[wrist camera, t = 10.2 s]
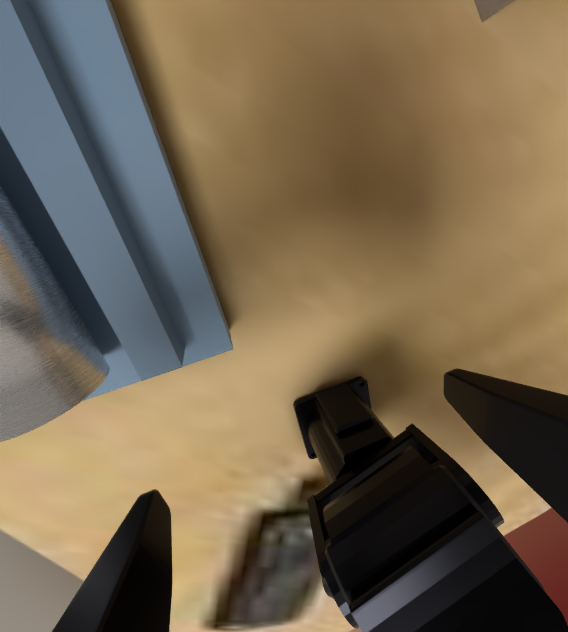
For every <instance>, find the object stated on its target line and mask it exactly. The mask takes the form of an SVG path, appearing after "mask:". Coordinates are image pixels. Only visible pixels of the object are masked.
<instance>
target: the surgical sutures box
mask: <svg viewBox="0 0 568 632" xmlns="http://www.w3.org/2000/svg"><path fill="white" fill-rule="evenodd" d="M474 1H475V4H476V7H477V9H478V12H479V15H480V18H481V21H482V22H483V21H485V20H486V19H488V18H489V17H491V16H492V15H494V14H495V13H497V12H498V11H499V10H501V9H502V8H504V7H505V6H507V5H508V4H510V3H511V2H513V1H514V0H474Z"/></svg>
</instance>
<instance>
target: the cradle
mask: <svg viewBox="0 0 568 632" xmlns="http://www.w3.org/2000/svg"><path fill="white" fill-rule="evenodd" d="M0 186H1V187H2V189H3V191H4V192H5V194H6V196H7V197H8V199H9V200H10V202H11V204H12V205H13V207H14V209H15V210H16V212H17V214H18V215H19V217H20V219H21V220H22V222H23V224H24V225H25V227H26V229H27V230H28V232H29V234H30V235H31V237H32V239H33V240H34V242H35V244H36V245H37V247H38V249H39V250H40V252H41V254H42V255H43V257H44V258H45V260H46V262H47V263H48V265H49V267H50V268H51V270H52V272H53V273H54V275H55V277H56V278H57V280H58V282H59V283H60V285H61V287H62V288H63V290H64V292H65V293H66V295H67V297H68V298H69V300H70V302H71V303H72V305H73V307H74V308H75V310H76V312H77V313H78V315H79V317H80V318H81V320H82V321H83V323H84V325H85V326H86V328H87V330H88V331H89V333H90V335H91V336H92V338H93V340H94V341H95V343H96V345H97V346H98V348H99V350H100V351H101V353H102V355H103V356H104V358H105V360H106V361H107V363H108V365H109V367H110V371H109V374H108V376H107V378H106V379H105V380H104V381H103V383H102V384H101V385H100V386H99V387H98V388H97V389H96V390H95V391H94V392H93V393H91V394H90V395H89V396H88V397H87V398H85V399H84V400H86V399H89V398H92V397H95V396H98V395H101V394H104V393H107V392H110V391H112V390H115V389H118V388H121V387H124V386H127V385H130V384H133V383H136V382H139V381H143V380H146V379H149V378H152V377H155V376H158V375H160V374H163V373H166V372H169V371H172V370H175V369H178V368H181V367H183V366H186V365H188V364H191V363H194V362H197V361H200V360H203V359H206V358H209V357H212V356H215V355H218V354H221V353H224V352H226V351H229V350H232V349H233V345H232V340H231V335H230V330H229V327H228V324H227V321H226V319H225V316H224V313H223V310H222V308H221V305H220V302H219V299H218V297H217V294H216V291H215V288H214V285H213V283H212V280H211V277H210V274H209V272H208V269H207V266H206V263H205V261H204V258H203V255H202V252H201V249H200V247H199V244H198V241H197V238H196V236H195V233H194V230H193V227H192V225H191V222H190V219H189V216H188V213H187V211H186V208H185V205H184V202H183V200H182V197H181V194H180V191H179V188H178V186H177V183H176V180H175V177H174V175H173V172H172V169H171V166H170V164H169V161H168V158H167V155H166V152H165V150H164V147H163V144H162V141H161V139H160V136H159V133H158V130H157V128H156V125H155V122H154V119H153V116H152V114H151V111H150V108H149V105H148V103H147V100H146V97H145V94H144V92H143V89H142V86H141V83H140V80H139V78H138V75H137V72H136V69H135V67H134V64H133V61H132V58H131V56H130V53H129V50H128V47H127V44H126V42H125V39H124V36H123V33H122V31H121V28H120V25H119V22H118V20H117V17H116V14H115V11H114V8H113V6H112V3H111V0H0Z"/></svg>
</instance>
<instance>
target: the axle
mask: <svg viewBox="0 0 568 632" xmlns="http://www.w3.org/2000/svg"><path fill="white" fill-rule="evenodd" d="M109 371H110V367H109V365H108V363H107V361H106V360H105V358H104V356H103V355H102V353H101V351H100V350H99V348H98V346H97V345H96V343H95V341H94V340H93V338H92V336H91V335H90V333H89V331H88V330H87V328H86V326H85V325H84V323H83V321H82V320H81V318H80V317H79V315H78V313H77V312H76V310H75V308H74V307H73V305H72V303H71V302H70V300H69V298H68V297H67V295H66V293H65V292H64V290H63V288H62V287H61V285H60V283H59V282H58V280H57V278H56V277H55V275H54V273H53V272H52V270H51V268H50V267H49V265H48V263H47V262H46V260H45V258H44V257H43V255H42V254H41V252H40V250H39V249H38V247H37V245H36V244H35V242H34V240H33V239H32V237H31V235H30V234H29V232H28V230H27V229H26V227H25V225H24V224H23V222H22V220H21V219H20V217H19V215H18V214H17V212H16V210H15V209H14V207H13V205H12V204H11V202H10V200H9V199H8V197H7V196H6V194H5V192H4V191H3V189H2V187H1V186H0V442H2V441H5V440H8V439H11V438H14V437H17V436H20V435H22V434H24V433H27V432H29V431H31V430H34V429H36V428H38V427H40V426H42V425H44V424H46V423H48V422H49V421H51V420H53V419H55V418H57V417H58V416H60V415H62V414H63V413H65V412H67V411H68V410H70V409H71V408H73V407H74V406H76V405H77V404H78V403H80V402H81V401H83V400H84V399H85V398H87V397H88V396H89V395H90V394H91V393H93V392H94V391H95V390H96V389H97V388H98V387H99V386H100V385H101V384H102V383H103V381H104V380H105V379H106V378H107V376H108V374H109Z"/></svg>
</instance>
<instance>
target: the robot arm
mask: <svg viewBox="0 0 568 632" xmlns="http://www.w3.org/2000/svg"><path fill="white" fill-rule="evenodd" d="M361 382H362V383H361ZM360 383H361V384H360ZM444 396H445V398H446V399H447V401H448V402H449V403H450V404H451V405H452V407H453V408H454V409H455V410H456V411H457V412H458V413H459V415H460V416H461V417H462V418H463V419H464V420H465V421H466V423H467V424H468V425H469V426H470V427H471V428H472V429H473V431H474V432H475V433H476V434H477V435H478V436H479V437H480V438H481V439H482V440H483V442H484V443H485V444H486V445H487V446H488V447H489V448H490V449H491V450H493V451H494V452H495V453H496V454H497V455H498V456H499V457H500V458H501V459H502V460H503V461H504V462H505V463H506V464H507V465H508V466H509V467H510V468H511V469H512V470H513V471H514V472H515V473H517V474H518V475H519V476H520V477H521V478H522V479H523V480H524V481H525V482H526V483H527V484H528V485H529V486H530V487H531V488H532V489H533V490H534V491H535V492H536V493H537V494H538V495H539V496H541V497H542V498H543V499H544V500H545V501H546V502H547V503H548V504H549V505H550V506H551V507H552V508H553V509H554V510H555V511H556V512H557V513H558V514H559V515H560V516H561V517H562V518H564V519H565V520H566V521H567V522H568V395H564V394H560V393H555V392H551V391H547V390H543V389H539V388H535V387H531V386H527V385H523V384H519V383H515V382H511V381H507V380H502V379H498V378H494V377H490V376H486V375H482V374H478V373H474V372H470V371H466V370H462V369H453V370H451V371H448V372H446V373H445V374H444ZM301 405H302V406H301ZM299 406H301V407H299ZM294 410H295V413H296V417H297V420H298V424H299V427H300V431H301V434H302V438H303V441H304V444H305V448H306V451H307V454H308V457H309V458H310V459H314V458H318V460H319V462H320V464H321V466H322V469H323V471H324V473H325V475H326V478H327V480H328V482H329V485H328V486H327V487H325V488H324V489H322V490H321V491H320V492H318V493H317V494H313V495H311V496H310V497H309V498H307V502H308V507H309V517H310V522H311V527H312V532H313V538H314V543H315V548H316V553H317V558H318V563H319V569H320V573H321V575H322V582H323V587H324V590H325V592H326V593H327V595H328V596H330V597H332V598H333V599H335V601H336V603H337V605H338V607H339V609H340V610H341V612H342V614H343V615H344V617H345V618H346V619H347V621H348V622H349V623H350V624H351V625H352V626H353V627H354V628H358V627H360V629H361V630H362V632H568V626H567V623H566V621H565V619H564V616H563V614H562V612H561V611H560V610H559V608H558V607H557V606H556V605H555V603H554V602H553V601H552V600H551V599H550V597H549V596H548V595H547V594H546V592H545V590H544V588H543V586H542V585H541V583H540V582H539V581H538V580H537V578H536V577H535V576H534V574H533V573H532V572H531V571H530V569H529V568H528V567H527V566H526V564H525V563H524V562H523V560H522V559H521V558H520V557H519V555H518V554H517V553H516V552H515V550H514V549H513V548H512V547H511V545H510V544H509V543H508V542H507V540H506V539H505V538H504V537H503V535H502V534H501V533H500V532H499V530H498V529H497V527H498V526H500V525H501V524H503V523H504V519H503V517H502V516H501V514H500V512H499V511H498V509H497V508H496V506H495V505H494V504H493V503H492V501H491V500H490V499H489V497H488V496H487V495H486V494H485V492H484V491H483V490H482V489H481V488H480V487H479V485H478V484H477V483H476V482H475V481H474V480H473V479H472V478H471V476H470V475H469V474H468V473H467V472H466V471H465V470H464V469H463V468H462V467H461V466H460V465H459V464H458V463H457V462H456V461H455V460H454V459H453V458H451V457H450V456H449V455H448V454H447V453H446V452H444V451H443V450H442V449H441V448H440V447H439V446H438V445H436V444H435V443H434V442H433V441H432V440H431V439H430V438H428V437H427V436H426V435H425V434H424V433H423V432H421V431H420V430H419V429H418V428H417V427H416V426H415V425H413V424H411V425H409V426H408V427H406V430H405V431H403V432H402V433H401V434H399V435H398V436H396V437H395V438H394V437H393V436H392V434H391V433H390V432H389V431H388V430H387V428H386V427H385V426H384V425H383V423H382V422H381V421H380V420H379V419H378V417H377V416H376V415H375V414H374V413H373V411H372V410H371V405H370V398H369V391H368V384H367V380H366V379H365V378H364V377H357V378H355V379H352V380H349V381H347V382H344V383H342V384H339V385H336V386H334V387H331V388H329V389H326V390H323V391H321V392H318V393H316V394H313V395H310V396H308V397H305V398H302V399H300V400H298V401H296V402H295V403H294ZM171 597H172V539H171V512H170V509H169V506H168V505H167V503H166V502H165V500H164V499H163V497H162V496H161V494H160V493H159V491H158V490H151V491H149V492H146V493H144V494H142V495H140V496H139V497H138V499H137V500H136V502H135V503H134V505H133V506H132V508H131V509H130V511H129V513H128V514H127V516H126V517H125V519H124V520H123V522H122V523H121V525H120V527H119V528H118V530H117V531H116V533H115V534H114V536H113V537H112V539H111V541H110V542H109V544H108V545H107V547H106V548H105V550H104V551H103V553H102V555H101V556H100V558H99V559H98V561H97V562H96V564H95V565H94V567H93V569H92V570H91V572H90V573H89V575H88V576H87V578H86V579H85V581H84V583H83V584H82V586H81V587H80V589H79V590H78V592H77V593H76V595H75V597H74V598H73V600H72V601H71V603H70V604H69V606H68V607H67V609H66V611H65V612H64V614H63V615H62V617H61V618H60V620H59V622H58V623H57V625H56V626H55V628H54V629H53V631H52V632H169V625H170V611H171Z"/></svg>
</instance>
